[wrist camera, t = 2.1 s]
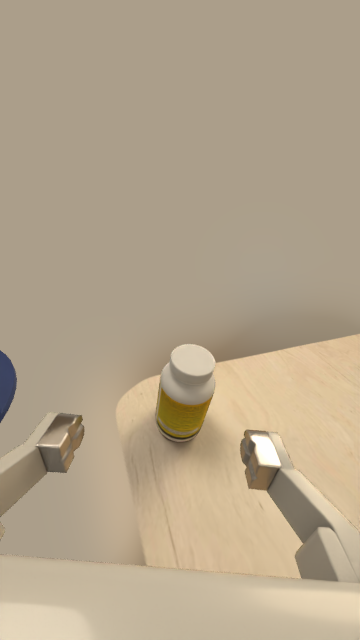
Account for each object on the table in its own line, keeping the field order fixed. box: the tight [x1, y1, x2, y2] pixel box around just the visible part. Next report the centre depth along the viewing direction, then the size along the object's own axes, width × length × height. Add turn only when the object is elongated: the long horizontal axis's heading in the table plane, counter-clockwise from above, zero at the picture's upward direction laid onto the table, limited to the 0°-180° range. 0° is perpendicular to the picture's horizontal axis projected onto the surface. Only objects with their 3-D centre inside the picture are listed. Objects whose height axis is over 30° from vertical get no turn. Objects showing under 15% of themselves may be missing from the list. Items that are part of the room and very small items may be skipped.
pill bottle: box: [156, 344, 215, 442], centre depth 23 cm, size 6×6×11 cm
